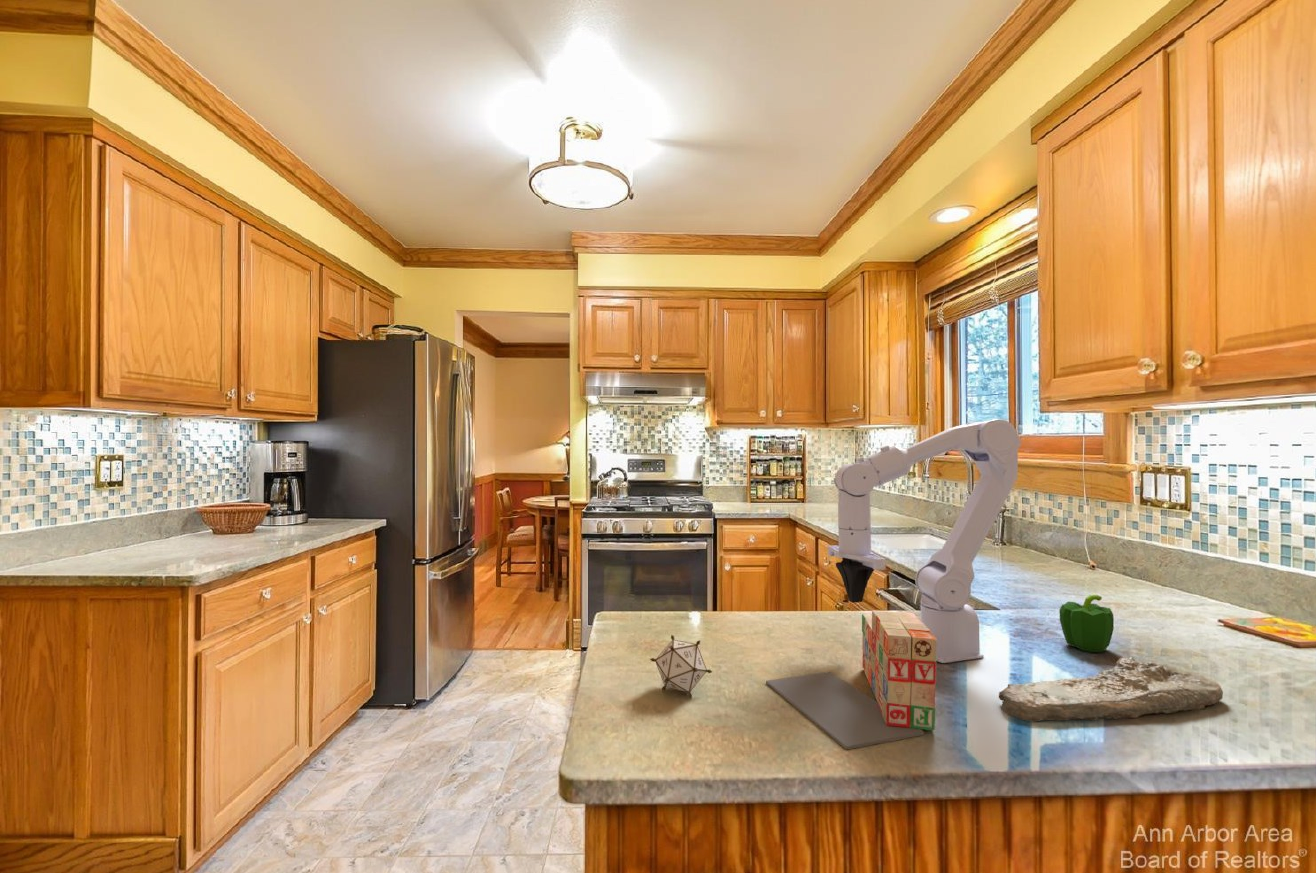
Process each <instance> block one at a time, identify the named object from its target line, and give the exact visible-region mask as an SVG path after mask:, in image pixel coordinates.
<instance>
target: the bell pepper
mask: <svg viewBox="0 0 1316 873" xmlns="http://www.w3.org/2000/svg"><path fill="white" fill-rule="evenodd" d="M1102 599H1103V598H1102V596H1100V595H1098V594H1092V595H1089V596H1087V597H1085V599H1084V602H1083V605H1082V604H1080V603H1077V602H1075V601H1067V602H1065V603H1063V604H1061V606H1060V608H1059V610H1058V611H1059V622H1060V626H1061V630H1062V633H1063V636H1064V639H1065V641H1066V644H1068V646H1071V647H1075V648H1077V649H1079V650H1082V651H1084V652H1089V653H1102V652H1104V651H1105V650H1107V648H1108V647H1109V646H1110V644H1111V641H1112V640H1111V639H1112V636H1113V633H1114V622H1115V621H1114V614H1113V611H1112V609H1111V608H1110V607H1105V606H1100V605H1098V604H1097V603H1092V602H1093V601H1098V602H1099V601H1101V600H1102Z"/></svg>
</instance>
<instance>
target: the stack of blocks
mask: <svg viewBox="0 0 1316 873" xmlns="http://www.w3.org/2000/svg"><path fill="white" fill-rule="evenodd" d="M861 633H862V641H861V642H862V646H861V647H862V657H861V658H862V669H863V670H864V674H865V677H866V678H867V680H868V684H869V687H870V688H871V690H872V692H873V695H874V697H875V700H876V701H877V702H878V704H879V708H880V711H881V713H882V716H883V718H884V721H885V723H886V725H890V726H898V727H907V728H910V727H911V728H917V729H920V730H927V731H935V729H936V706H935V705H936V684H937V661H936V653H937V639H936V638H935V637H934V636H933V634H932V633H931V632H930V630H929V629H928V628H927V627H926V626H925V625H924V624H923V623H922V622H921V619H920V618H918V617H917V616H916V615H915V614H914V613H912V612H903V611H886V610H871V614H870V613H869V614H868V613H862V614H861Z"/></svg>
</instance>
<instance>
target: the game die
mask: <svg viewBox="0 0 1316 873" xmlns="http://www.w3.org/2000/svg"><path fill="white" fill-rule="evenodd" d="M670 639H671V641H670V642H669V643H668V644H667V645H666V647H665V648H664V649H663V650H662V651H661V653H660V654H659V655H658V656H657V657H656V658H654V657H651V658H649V660H650V662H654V663H655V664H656V666H657V670H658V672H659V674H660V678H661V681H662V682H663V686H662V687H661V692H662V691H666V688H669V689H672V690H675V691H680V692H683V693H687V696H688V698H689V699H692V693H691V692H692V690H693V689H694V688H695V687H696V686H697V684H698V683H699V682H700V681H701V680H702V678H703V677H704V676H705V675H706V673H707V674H711V673H713V671H712V670H711V669H709V668H708V669H707V667H706V664H705V662H704V659H703V656H702V654H701V650H700V649H699V645H700V644H701V640H697V641H696V643H692V642H686V641H681V640H679V639H675V635H673V634H671V636H670Z"/></svg>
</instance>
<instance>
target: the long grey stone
mask: <svg viewBox="0 0 1316 873" xmlns="http://www.w3.org/2000/svg"><path fill="white" fill-rule="evenodd" d="M998 693H999V694H998V699H999V700H1000V701H1001V708H1002V710H1003V711H1004V713H1006V714H1008V715H1009V716H1011V717H1014V718H1015V719H1018V720H1022V721H1025V720H1026V721H1025V722H1035V723H1037V722H1039V721H1050V720H1051V721H1066V720H1067V721H1068V720H1070V721H1077V720H1085V721H1086V720H1087V721H1097V720H1098V719H1106V720H1107V719H1113V720H1115V719H1120V718H1121V719H1122V718H1124V719H1125V718H1127V719H1128V718H1131V719H1132V718H1133V719H1135V718H1136V719H1137V718H1138V717H1139V716H1142V715H1151V714H1157V715H1158V714H1165V715H1166V714H1172V713H1173V714H1175V713H1177V712H1180V711H1194V710H1203V709H1205V707H1206V706H1211V705H1215V704H1217V703H1218V702H1220V701H1221V700H1222V699H1223V696H1224V695H1223V694H1224V691H1223V689H1222V687H1221V685H1220V684H1219V683H1218V682H1216V681H1215V680H1212V679H1210V678H1207V677H1205V676H1203V675H1199V674H1196V673H1190V672H1184V671H1179V670H1178V671H1176V670H1174V669H1173V668H1171V667H1168V666H1166V665H1164V664H1158V663H1156V662H1154V661H1147V662H1143V661H1136V660H1135V658H1133V657H1132V656H1130V657H1119V659H1118V660H1117V661H1116V665H1115V666H1113V667H1112V668H1111V669H1103V670H1101V671H1100V672H1098V674H1096V676H1093V677H1091V676H1090V677H1089V676H1088V677H1085V678H1084V677H1079V678H1078V677H1072V678H1064V679H1063V678H1061V679H1056V680H1045V681H1039V682H1027V683H1026V682H1025V683H1021V684H1020V683H1018V684H1016V683H1013V684H1011V683H1008V684H1007V686H1006V688H1003V690H1001V691H999V692H998Z"/></svg>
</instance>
